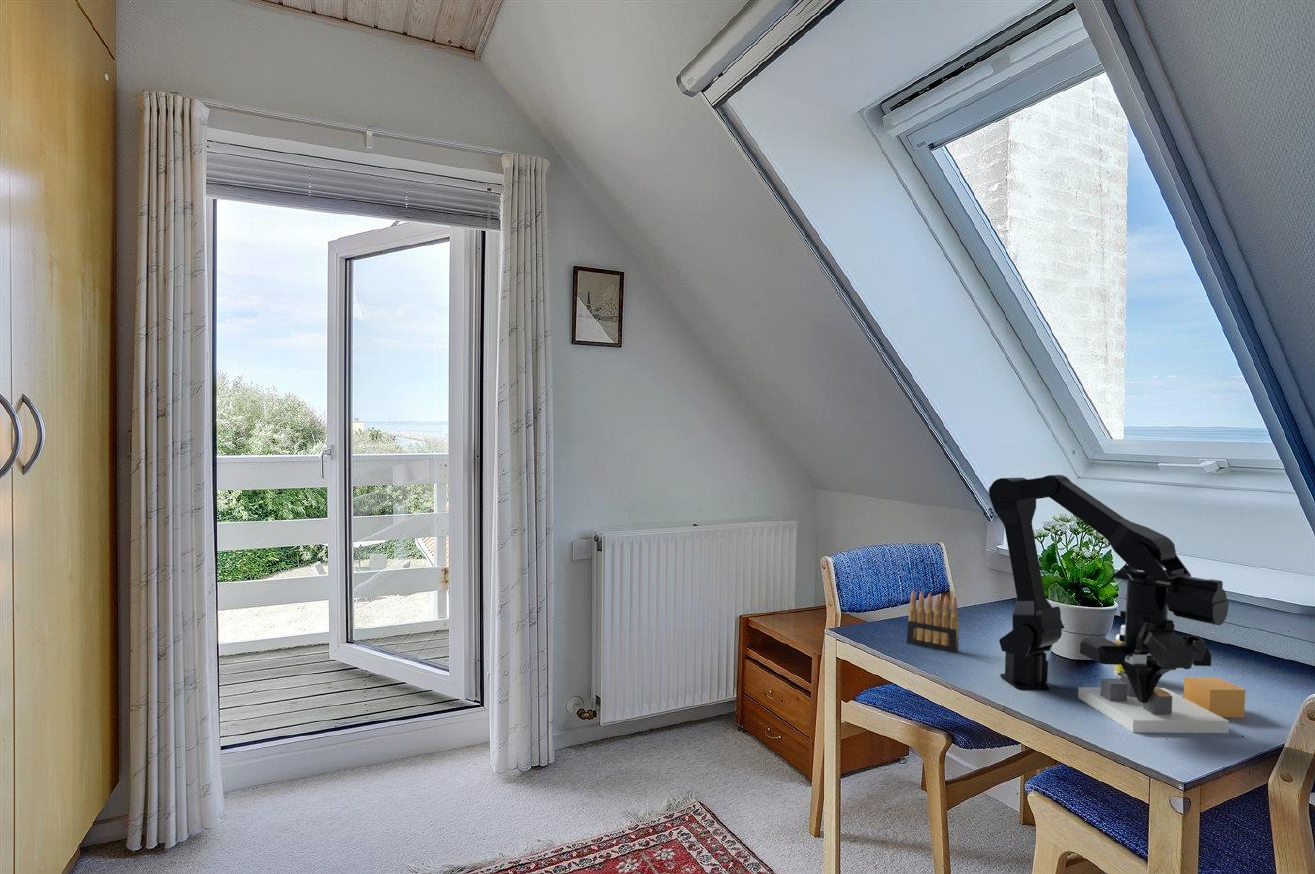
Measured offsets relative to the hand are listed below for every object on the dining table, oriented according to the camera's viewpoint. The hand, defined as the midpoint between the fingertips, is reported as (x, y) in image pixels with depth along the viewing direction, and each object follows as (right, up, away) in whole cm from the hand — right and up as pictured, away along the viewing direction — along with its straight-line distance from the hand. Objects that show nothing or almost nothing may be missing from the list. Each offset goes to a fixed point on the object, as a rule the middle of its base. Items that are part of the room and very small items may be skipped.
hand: (1142, 702), depth 118 cm
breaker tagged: (+3, -2, 0) cm, 3 cm away
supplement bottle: (+12, -4, +21) cm, 25 cm away
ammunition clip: (-20, -2, +38) cm, 43 cm away
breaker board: (+4, -4, +4) cm, 6 cm away
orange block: (+17, -4, +6) cm, 18 cm away
